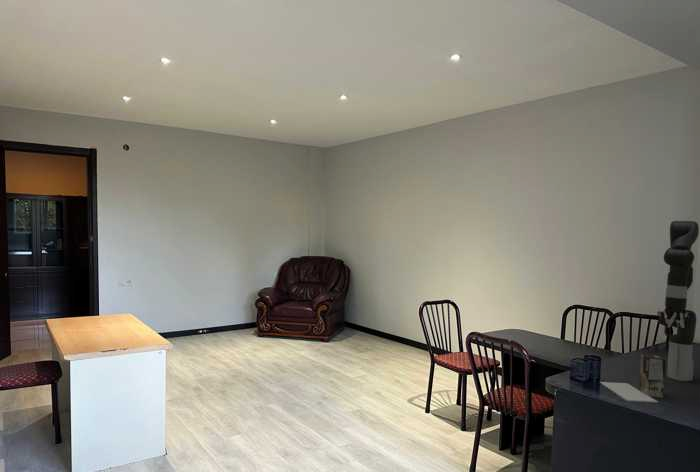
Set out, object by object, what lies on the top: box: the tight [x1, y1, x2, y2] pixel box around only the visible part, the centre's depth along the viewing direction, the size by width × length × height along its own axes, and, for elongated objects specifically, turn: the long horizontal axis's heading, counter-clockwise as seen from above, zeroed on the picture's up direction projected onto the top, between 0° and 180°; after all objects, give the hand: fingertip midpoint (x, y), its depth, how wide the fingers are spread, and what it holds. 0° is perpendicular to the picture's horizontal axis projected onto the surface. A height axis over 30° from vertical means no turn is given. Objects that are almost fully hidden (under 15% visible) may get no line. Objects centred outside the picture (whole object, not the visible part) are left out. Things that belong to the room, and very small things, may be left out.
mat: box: [599, 381, 659, 404], centre depth 206 cm, size 12×22×1 cm, turn 0°
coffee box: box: [638, 353, 667, 399], centre depth 206 cm, size 9×6×16 cm
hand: (673, 335), depth 205 cm, fingers open, 4 cm apart
